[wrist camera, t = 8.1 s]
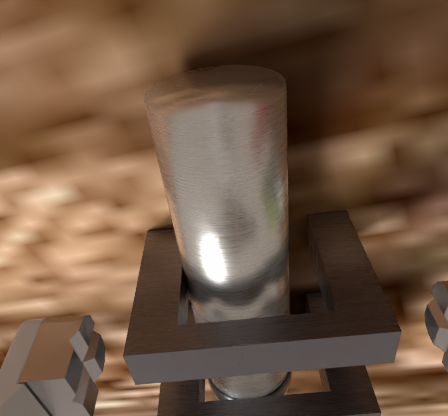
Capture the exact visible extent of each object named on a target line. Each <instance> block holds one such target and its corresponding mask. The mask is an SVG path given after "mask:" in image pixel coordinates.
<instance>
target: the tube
mask: <svg viewBox="0 0 448 416" xmlns="http://www.w3.org/2000/svg"><path fill="white" fill-rule="evenodd" d="M144 102H145V107H146V111H147V115H148V120H149V124H150V128H151V133H152V137H153V141H154V145H155V150H156V154H157V158H158V163H159V167H160V171H161V175H162V180H163V184H164V188H165V193H166V197H167V201H168V205H169V210H170V214H171V218H172V223H173V227H174V231H175V236H176V240H177V244H178V248H179V253H180V257H181V261H182V266H183V270H184V274H185V278H186V283H187V287H188V291H189V296H190V300H191V304H192V309H193V313H194V317H195V321H196V323H206V322H217V321H228V320H239V319H250V318H261V317H272V316H283V315H290V289H289V223H288V158H287V92H286V80H285V78H284V77H283V76H282V75H281V74H280V73H278V72H276V71H274V70H272V69H269V68H265V67H260V66H253V65H218V66H210V67H203V68H198V69H193V70H189V71H185V72H182V73H179V74H176V75H173V76H170V77H168V78H166V79H164V80H162V81H160V82H158V83H156V84H155V85H153V86H152V87H151V88H150V89H149V90H148V91H147V92H146V94H145V96H144ZM291 374H292V371H290V372H278V373H267V374H255V375H243V376H232V377H220V378H209V379H208V381H209V384H210V387H211V389H212V391H213V393H214V395H215V397H216V398H217V399H218V400H219V401H220V400H232V399H244V398H256V397H268V396H280V395H286V393H287V391H288V388H289V385H290V381H291Z"/></svg>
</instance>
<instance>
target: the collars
mask: <svg viewBox="0 0 448 416" xmlns="http://www.w3.org/2000/svg"><path fill="white" fill-rule="evenodd" d="M307 245H308V249H309V252H310V256H311V259H312V262H313V266H314V269H315V273H316V276H317V279H318V283H319V286H320V290H321V292H312V293H306V313H304V314H294V315H283V316H272V317H261V318H250V319H239V320H228V321H217V322H206V323H196V321H195V317H194V313H193V309H192V304H188V301H189V291H188V287H187V283H186V278H185V274H184V270H183V266H182V261H181V257H180V253H179V248H178V244H177V240H176V236H175V231H174V228H173V229H163V230H153V231H147V236H146V241H145V246H144V251H143V256H142V261H141V266H140V272H139V277H138V282H137V287H136V292H135V297H134V302H133V308H132V313H131V318H130V323H129V328H128V333H127V338H126V344H125V349H124V354H123V357H124V360H125V362H126V364H127V366H128V369H129V371H130V373H131V376H132V378H133V380H134V382H135V385H139V384H151V383H161V386H160V395H159V405H158V415H157V416H381V411H380V408H379V405H378V402H377V399H376V396H375V393H374V390H373V387H372V384H371V381H370V379H369V376H368V373H367V370H366V367H365V365H371V364H383V363H394V360H395V356H396V352H397V348H398V344H399V340H400V336H401V332H402V331H401V329H400V327H399V325H398V322H397V320H396V318H395V316H394V314H393V311H392V309H391V307H390V305H389V303H388V300H387V298H386V296H385V294H384V292H383V290H382V287H381V285H380V283H379V281H378V279H377V276H376V274H375V272H374V270H373V268H372V265H371V263H370V261H369V259H368V257H367V255H366V252H365V250H364V248H363V246H362V244H361V241H360V239H359V237H358V235H357V233H356V230H355V228H354V226H353V224H352V222H351V220H350V217H349V215H348V213H347V211H340V212H330V213H321V214H311V215H308V221H307ZM313 369H319V373H320V377H321V382H322V386H323V390H324V392H316V393H304V394H292V395H280V396H268V397H256V398H244V399H232V400H220V401H208V402H205V379H209V378H220V377H232V376H243V375H255V374H267V373H278V372H290V371H301V370H313Z"/></svg>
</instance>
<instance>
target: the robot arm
mask: <svg viewBox="0 0 448 416" xmlns="http://www.w3.org/2000/svg"><path fill="white" fill-rule="evenodd" d="M431 293H432V295H433V296H434V298H435V299H434V300H433V301H431V302H430V303H429V304H428V305H427V308H426V311H425V322H426V327H427V331H428V334H429V336H430V338H431V340H432V342H433V344H434V345H435V346H437V347H438V348H439V349H441V350H442V351H444V356H443V360H442V363H443V364H444V366H445V368H446V370H447V372H448V281H442V282H437V283H436V284H435V285H434V286H433V289H432V292H431ZM94 324H95V323H94V321H93V320H92V318H91V316H90V315H85V316H70V317H55V318H41V319H29V320H25V321H24V322H23V323H22V324H21V325H20V326H19V328H18V330H17V333H16V335H15V337H14V340H13V342H12V344H11V346H10V349H9V351H8V353H7V356H6V358H5V360H4V362H3V365H2V367H1V369H0V416H93V413H94V408H95V404H96V400H97V395H98V389H97V387H96V385H95V383H94V382H95V381H96V379H97V378H98V377H99V376H100V375H101V374H102V372H103V367H104V362H105V347H104V343H103V339H102V337H101V335H100V334H98V333H97V332H95V331H93V328H94Z"/></svg>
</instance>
